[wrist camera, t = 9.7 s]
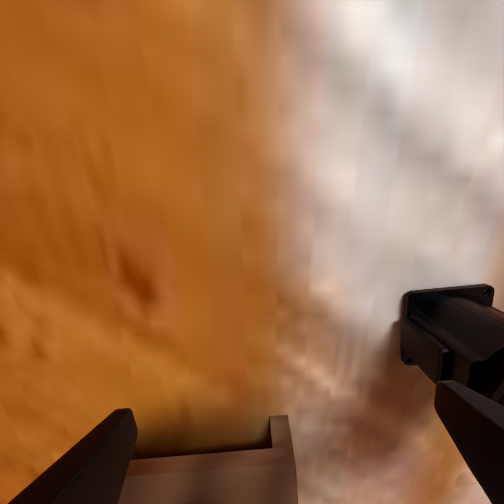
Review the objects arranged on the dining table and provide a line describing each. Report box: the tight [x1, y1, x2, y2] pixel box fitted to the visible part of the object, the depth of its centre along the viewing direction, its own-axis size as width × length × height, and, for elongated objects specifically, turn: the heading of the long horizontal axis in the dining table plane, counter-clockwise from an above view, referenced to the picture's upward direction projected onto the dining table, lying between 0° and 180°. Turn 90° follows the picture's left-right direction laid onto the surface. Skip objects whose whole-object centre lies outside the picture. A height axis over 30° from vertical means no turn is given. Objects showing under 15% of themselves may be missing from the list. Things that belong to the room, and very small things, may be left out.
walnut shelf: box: [118, 415, 298, 504], centre depth 23 cm, size 16×14×4 cm
